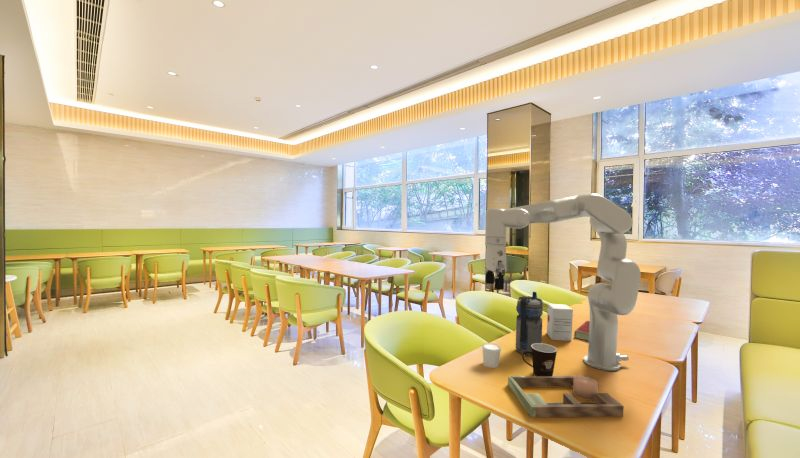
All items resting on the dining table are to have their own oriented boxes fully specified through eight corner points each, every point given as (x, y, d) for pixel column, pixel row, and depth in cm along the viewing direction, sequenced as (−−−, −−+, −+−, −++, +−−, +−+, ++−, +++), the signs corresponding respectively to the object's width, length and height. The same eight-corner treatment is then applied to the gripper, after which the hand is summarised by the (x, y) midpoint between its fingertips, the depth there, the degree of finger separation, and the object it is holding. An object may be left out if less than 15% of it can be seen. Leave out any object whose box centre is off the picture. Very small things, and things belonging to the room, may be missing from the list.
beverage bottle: (508, 353, 143) (510, 294, 141) (522, 345, 152) (524, 289, 151) (532, 361, 136) (535, 298, 134) (545, 351, 145) (547, 293, 144)
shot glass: (500, 369, 128) (501, 351, 128) (482, 367, 129) (482, 349, 129) (499, 361, 135) (500, 344, 134) (481, 359, 136) (482, 342, 136)
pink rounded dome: (588, 388, 115) (589, 375, 115) (602, 400, 108) (602, 386, 108) (568, 389, 115) (569, 375, 114) (580, 400, 108) (581, 386, 107)
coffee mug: (554, 371, 127) (555, 345, 126) (557, 382, 119) (558, 354, 118) (521, 366, 131) (522, 340, 130) (521, 376, 123) (522, 349, 122)
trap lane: (585, 384, 118) (586, 375, 117) (623, 416, 99) (623, 405, 99) (507, 385, 116) (508, 375, 116) (531, 417, 98) (531, 406, 98)
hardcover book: (574, 338, 163) (574, 329, 163) (585, 327, 179) (585, 319, 179) (602, 345, 155) (603, 336, 155) (612, 333, 171) (612, 325, 171)
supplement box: (546, 333, 168) (547, 303, 167) (565, 334, 167) (566, 304, 166) (551, 340, 159) (552, 308, 158) (572, 341, 158) (573, 309, 157)
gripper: (514, 243, 121) (513, 291, 122) (496, 239, 138) (495, 281, 139) (494, 243, 120) (492, 291, 121) (478, 239, 137) (477, 281, 138)
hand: (494, 286), depth 130 cm, fingers open, 9 cm apart
